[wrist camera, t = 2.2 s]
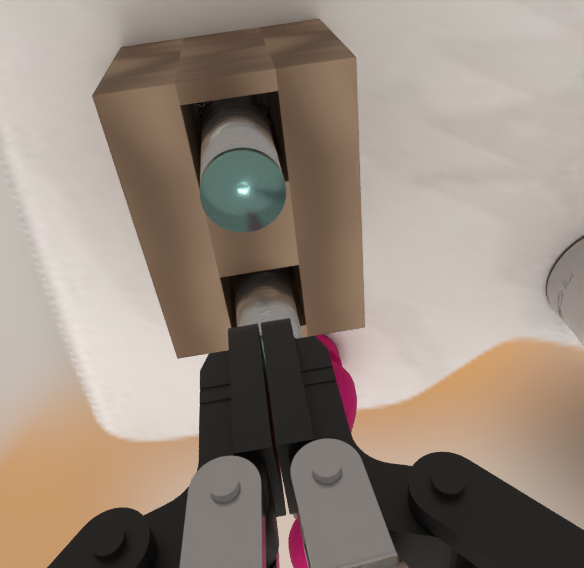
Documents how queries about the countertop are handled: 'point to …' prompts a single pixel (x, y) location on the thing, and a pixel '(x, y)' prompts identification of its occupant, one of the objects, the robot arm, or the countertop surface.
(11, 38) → the countertop surface
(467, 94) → the countertop surface
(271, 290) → the rear peg
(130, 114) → the walnut block
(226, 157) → the front peg
